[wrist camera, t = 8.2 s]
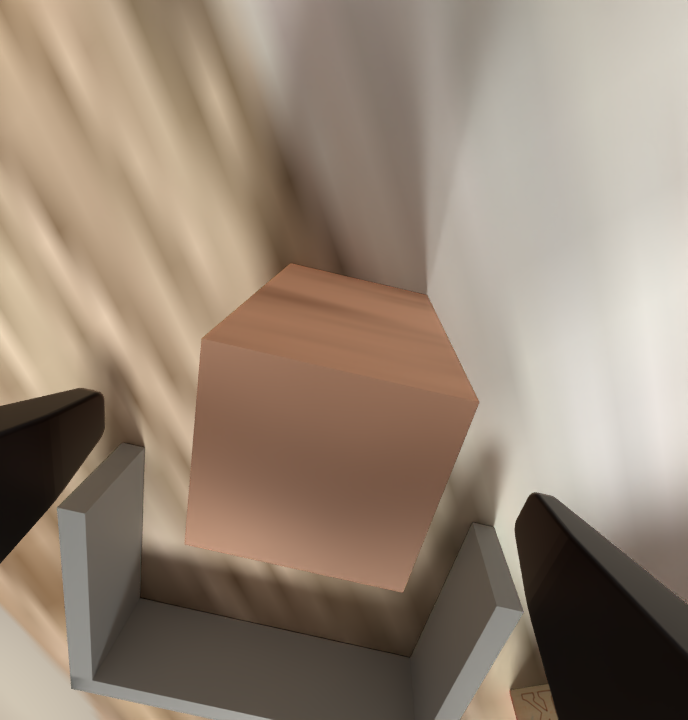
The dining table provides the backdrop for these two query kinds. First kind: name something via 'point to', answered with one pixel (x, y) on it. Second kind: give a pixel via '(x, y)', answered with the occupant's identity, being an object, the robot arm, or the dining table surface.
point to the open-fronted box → (260, 630)
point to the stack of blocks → (533, 703)
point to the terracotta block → (326, 427)
